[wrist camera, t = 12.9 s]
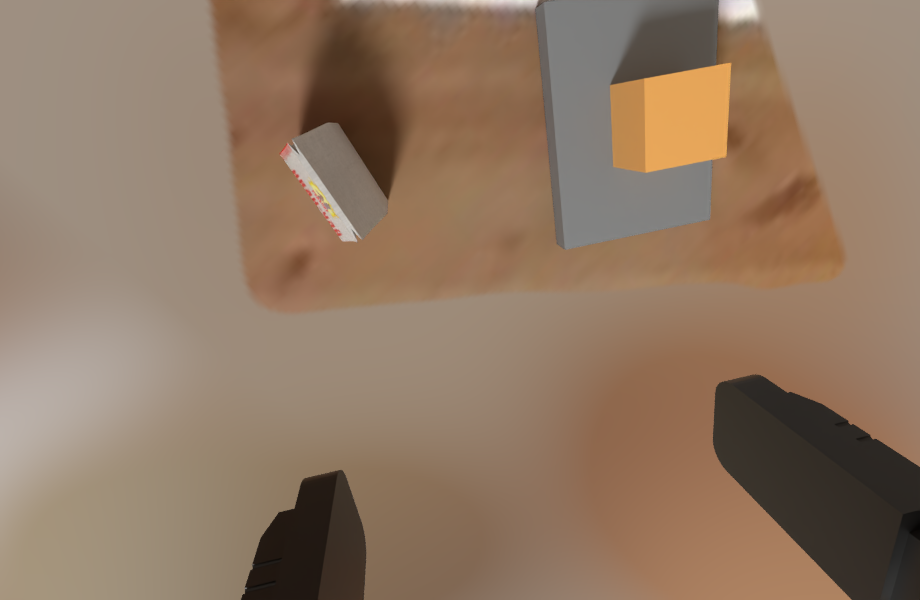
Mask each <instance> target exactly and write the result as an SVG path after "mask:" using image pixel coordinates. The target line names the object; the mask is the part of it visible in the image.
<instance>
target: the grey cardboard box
mask: <svg viewBox="0 0 920 600" xmlns="http://www.w3.org/2000/svg"><path fill="white" fill-rule="evenodd" d="M292 140H293V142H294V145H292V146H291V145H290V144H288V143H287V144H286V146H285V147H284V149H283V150H282V151H281V152H280V155H281V156H282V158H283V159H284V161H285V162H286V163H287V165H288V166H289V168H290V169H291V170H292V172H293V173H294V174H295V176H296V177H297V179H298V180H299V181H300V183H301V184H302V186H303V187H304V188H305V190H306V191H307V193H308V194H309V195H310V197H311V198H312V200H313V201H314V202H315V204H316V205H317V207H318V208H319V209H320V211H321V212H322V213H323V215H324V216H325V218H326V219H327V220H328V222H329V223H330V225H331V226H332V227H333V229H334V230H335V232H336V233H337V234H338V236H339V237H340V239H341V240H342V241H355V242H357V239H356V234H357V235H358V236H359V237H360V238H361V239H362V240H363V239H364V238H365V236H366V235H367V234H368V233H369V232H370V231H371V230H372V229H373V228H374V227H375V226H376V225H377V224H378V222H379V221H380V220H381V219H382V218H383V217H384V216H385V215H386V214H387V211H388V200H387V198H386V197H385V195H384V193H383V192H382V190H381V189H380V187H379V186H378V184H377V183H376V181H375V180H374V178H373V176H372V175H371V173H370V172H369V170H368V169H367V167H366V166H365V164H364V163H363V161H362V159H361V158H360V156H359V155H358V153H357V152H356V150H355V149H354V147H353V145H352V144H351V142H350V141H349V139H348V138H347V136H346V135H345V133H344V132H343V130H342V128H341V127H340V125H339V124H338V123H326V124H323V125H321V126H319V127H317V128H315V129H313V130H311V131H309V132H307V133H304V134H302V135H300V136H298V137H295V138H292ZM355 233H356V234H355ZM357 243H358V242H357Z"/></svg>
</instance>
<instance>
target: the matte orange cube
mask: <svg viewBox="0 0 920 600" xmlns="http://www.w3.org/2000/svg"><path fill="white" fill-rule="evenodd" d="M730 73H731V63H726V64H721V65H715V66H710V67H705V68H699V69H694V70H688V71H683V72H677V73H672V74H666V75H661V76H655V77H650V78H645V79H639V80H634V81H629V82H624V83H618V84H613V85H610V100H611V125H612V150H613V167H616V168H622V169H627V170H633V171H638V172H644V173H647V172H652V171H657V170H662V169H667V168H673V167H678V166H683V165H688V164H693V163H698V162H703V161H708V160H713V159H718V158H723V157H726V151H727V132H728V112H729V93H730Z"/></svg>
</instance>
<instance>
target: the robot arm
mask: <svg viewBox="0 0 920 600" xmlns="http://www.w3.org/2000/svg"><path fill="white" fill-rule="evenodd" d="M713 445H714V449H715V452H716V454H717V457H718V459H719V461H720V462H721V464H722V466H723V467H724V468H725V469H726V471H727V472H728V473H729V474H730V475H731V476H732V477H733V478H734V479H735V480H736V481H737V482H738V483H739V484H740V485H741V486H742V487H743V488H744V489H745V490H746V491H747V492H748V493H749V494H750V495H751V496H752V498H753V499H754V500H755V501H756V502H757V503H758V504H759V505H760V506H761V507H762V508H763V509H764V510H765V511H766V512H767V513H768V514H769V515H770V516H771V517H772V518H773V519H774V520H775V521H776V522H777V523H778V524H779V525H780V526H781V527H782V528H783V529H784V530H785V531H786V533H788V534H789V536H790V537H791V538H792V539H793V540H794V541H795V542H796V543H797V544H798V545H799V546H800V547H801V548H802V549H803V550H804V551H805V552H806V553H807V554H808V555H809V556H810V557H811V558H812V559H813V560H814V561H815V562H816V563H817V564H818V565H819V566H820V567H821V568H822V570H823V571H824V572H825V573H826V574H827V575H828V576H829V577H830V578H831V579H832V580H833V581H834V582H835V583H836V584H837V585H838V586H839V587H840V588H841V589H842V590H843V591H844V592H845V593H846V594H847V595H848V596H849V597H850V598H851V599H852V600H920V467H919V466H917V465H916V464H914V463H913V462H911V461H910V460H908V459H907V458H905V457H903V456H902V455H900V454H899V453H897V452H896V451H894V450H893V449H891V448H890V447H888V446H886V445H885V444H883V443H882V442H880V441H879V440H877V439H874V440H873V439H872V438H871V437H870V435H869V434H868V433H866V432H865V431H863V430H861V429H860V428H858V427H857V426H855V425H854V424H852V425H850V424H849V423H848V420H846V419H844V418H843V417H841V416H840V415H838V414H837V413H835V412H834V411H832V410H831V409H829V408H827V407H826V406H824V405H823V404H820V403H818V402H815V401H813V400H810V399H808V398H805V397H802V396H800V395H797V394H795V393H792V392H789V393H787V392H785V391H784V390H782V389H781V388H780V387H778V386H777V385H775V384H773V383H772V382H771V381H769V380H768V379H766V378H765V377H763V376H761V375H750V376H746V377H741V378H737V379H733V380H728V381H724V382H721V383H719V384H718V386H717V387H716V393H715V410H714V429H713ZM252 566H253V569H252V570H251V571H250V573H249V576H248V580H247V583H246V586H245V594H243V595H242V598H241V600H364V585H365V569H366V542H365V535H364V530H363V526H362V522H361V519H360V516H359V514H358V510H357V507H356V505H355V502H354V499H353V496H352V493H351V490H350V487H349V484H348V481H347V478H346V476H345V474H344V472H343V471H342V470H338V471H334V472H330V473H325V474H321V475H317V476H312V477H308V478H305V479H304V480H303V481H302V483H301V486H300V490H299V494H298V497H297V502H296V505H295V509H291V510H287V511H283V512H279V513H278V514H277V516H276V517H275V519H274V520H273V521H272V523H271V524H270V526H269V527H268V528H267V530H266V531H265V533H264V534H263V536H262V537H261V539H260V542H259V545H258V548H257V552H256V555H255V558H254V561H253V564H252Z"/></svg>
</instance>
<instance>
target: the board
mask: <svg viewBox="0 0 920 600" xmlns="http://www.w3.org/2000/svg"><path fill="white" fill-rule="evenodd" d="M718 4H719V0H553V1H547V2H543V3H542V4H541V5H540V6H538V7H537V8H536V9H535V10H536V21H537V32H538V42H539V53H540V64H541V75H542V86H543V97H544V108H545V119H546V130H547V141H548V152H549V163H550V174H551V185H552V196H553V206H554V217H555V228H556V239H557V244H558V245H559V246H560V247H562V248H563V249H565V250H566V249H571V248H575V247H580V246H585V245H590V244H595V243H600V242H604V241H609V240H614V239H619V238H624V237H628V236H633V235H638V234H643V233H648V232H653V231H657V230H662V229H667V228H672V227H677V226H681V225H686V224H691V223H696V222H701V221H705V220H710V205H711V180H712V160H708V161H703V162H698V163H693V164H688V165H683V166H678V167H673V168H667V169H662V170H657V171H652V172H647V173H644V172H638V171H633V170H627V169H622V168H616V167H613V150H612V125H611V100H610V85H613V84H618V83H624V82H629V81H634V80H639V79H645V78H650V77H655V76H661V75H666V74H672V73H677V72H683V71H688V70H694V69H699V68H705V67H710V66H715V65H716V54H717V29H718Z"/></svg>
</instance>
